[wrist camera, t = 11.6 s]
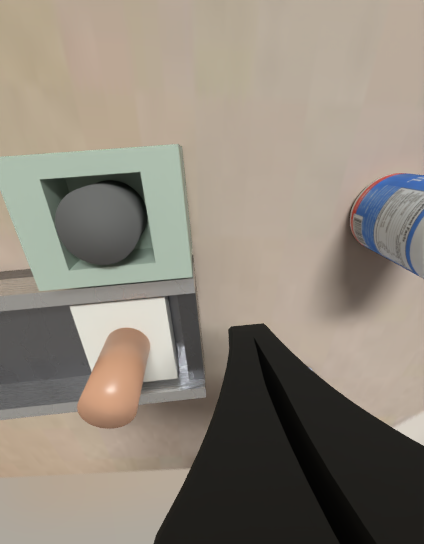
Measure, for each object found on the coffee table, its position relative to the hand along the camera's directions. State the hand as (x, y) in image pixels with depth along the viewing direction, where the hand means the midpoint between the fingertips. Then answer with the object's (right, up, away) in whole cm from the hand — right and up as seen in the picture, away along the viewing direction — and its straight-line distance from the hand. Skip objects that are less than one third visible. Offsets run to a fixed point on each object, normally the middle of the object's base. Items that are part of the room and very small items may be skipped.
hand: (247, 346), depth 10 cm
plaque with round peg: (-7, -2, +10) cm, 12 cm away
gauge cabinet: (-7, +7, +8) cm, 13 cm away
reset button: (-7, +6, +5) cm, 10 cm away
